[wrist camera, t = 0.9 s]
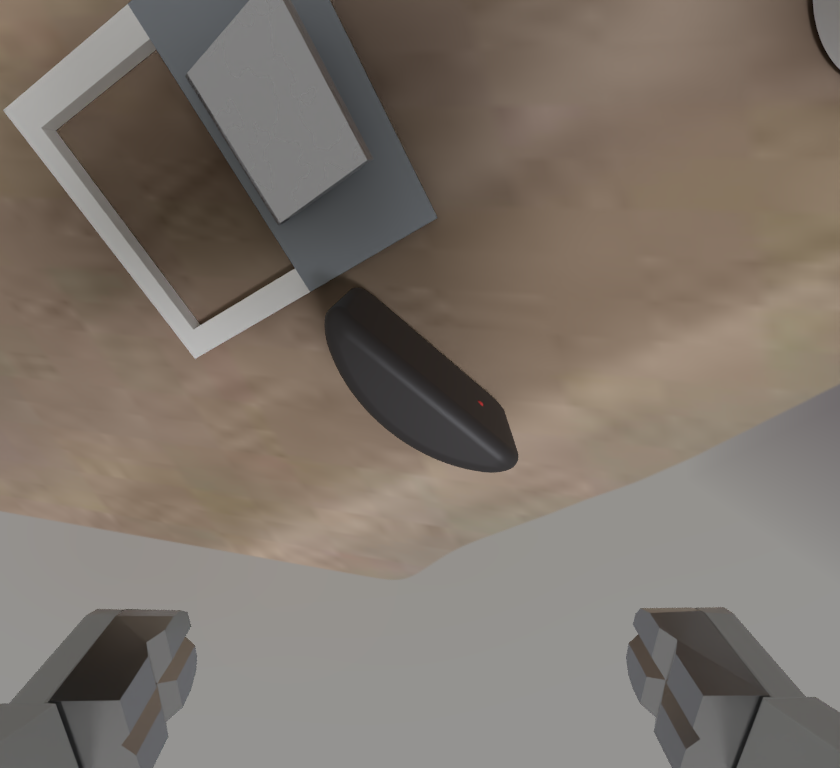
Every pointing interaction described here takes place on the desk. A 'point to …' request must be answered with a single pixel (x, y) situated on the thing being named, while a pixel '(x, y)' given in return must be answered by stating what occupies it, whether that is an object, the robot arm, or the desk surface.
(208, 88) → the light grey rectangular plate
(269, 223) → the mounting board
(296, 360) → the desk surface
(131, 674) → the robot arm
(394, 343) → the leaning round-cornered charcoal block
